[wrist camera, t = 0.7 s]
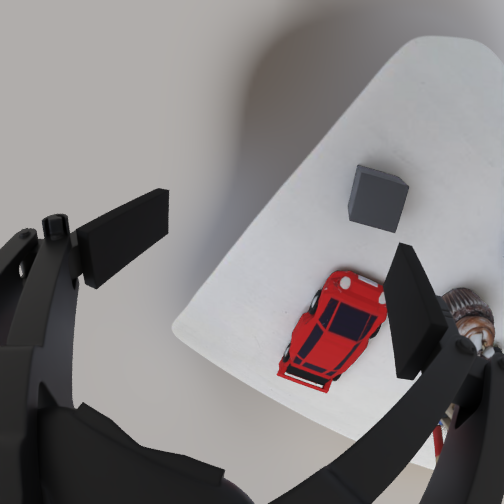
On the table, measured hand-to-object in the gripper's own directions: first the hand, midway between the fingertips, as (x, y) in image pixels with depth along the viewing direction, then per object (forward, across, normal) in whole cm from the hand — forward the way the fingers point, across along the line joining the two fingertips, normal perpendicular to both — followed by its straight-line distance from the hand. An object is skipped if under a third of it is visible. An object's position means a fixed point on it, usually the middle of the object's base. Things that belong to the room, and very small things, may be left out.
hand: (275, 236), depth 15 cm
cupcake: (+19, +25, -13) cm, 34 cm away
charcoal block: (+19, +8, 0) cm, 20 cm away
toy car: (+19, +8, -20) cm, 29 cm away
